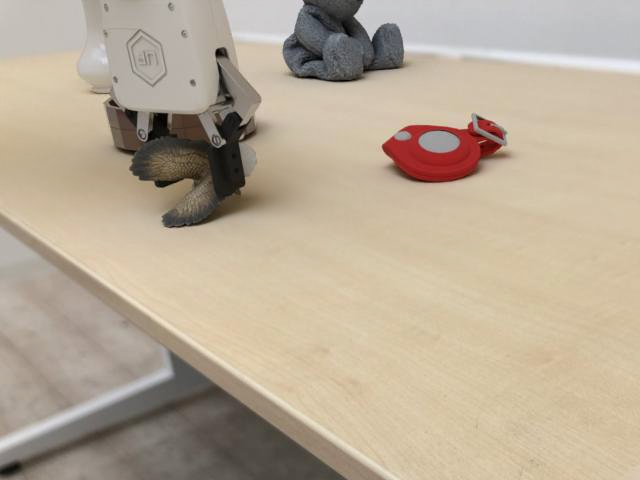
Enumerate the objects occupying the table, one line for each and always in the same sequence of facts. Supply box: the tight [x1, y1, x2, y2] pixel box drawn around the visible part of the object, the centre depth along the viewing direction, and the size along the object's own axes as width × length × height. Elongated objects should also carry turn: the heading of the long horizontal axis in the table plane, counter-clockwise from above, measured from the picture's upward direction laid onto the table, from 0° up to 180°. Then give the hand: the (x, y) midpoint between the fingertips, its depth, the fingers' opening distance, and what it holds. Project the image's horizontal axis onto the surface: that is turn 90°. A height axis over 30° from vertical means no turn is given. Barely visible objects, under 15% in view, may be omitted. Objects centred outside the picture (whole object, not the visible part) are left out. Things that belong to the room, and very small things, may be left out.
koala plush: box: [281, 0, 405, 81], centre depth 126 cm, size 17×18×20 cm
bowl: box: [102, 97, 258, 152], centre depth 93 cm, size 16×16×5 cm
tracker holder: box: [381, 112, 509, 183], centre depth 77 cm, size 12×4×10 cm
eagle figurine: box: [128, 136, 258, 228], centre depth 68 cm, size 8×7×9 cm
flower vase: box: [76, 0, 112, 94], centre depth 121 cm, size 13×18×25 cm
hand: (200, 184), depth 69 cm, fingers closed on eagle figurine, 6 cm apart
